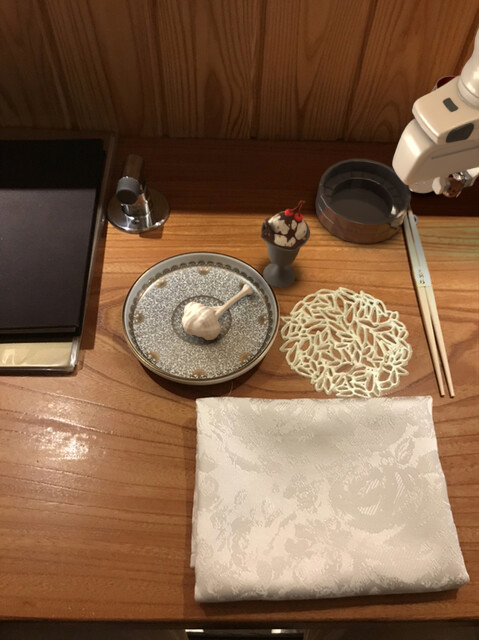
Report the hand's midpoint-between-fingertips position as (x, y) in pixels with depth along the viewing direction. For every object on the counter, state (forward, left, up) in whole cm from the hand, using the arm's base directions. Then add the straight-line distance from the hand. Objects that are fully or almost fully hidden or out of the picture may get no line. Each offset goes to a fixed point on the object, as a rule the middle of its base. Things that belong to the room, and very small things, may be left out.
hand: (451, 187), depth 79 cm
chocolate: (0, 0, -2) cm, 2 cm away
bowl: (+7, -9, -12) cm, 17 cm away
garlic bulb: (+35, +3, -12) cm, 38 cm away
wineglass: (-6, -12, -12) cm, 18 cm away
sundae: (+24, -1, -12) cm, 27 cm away
